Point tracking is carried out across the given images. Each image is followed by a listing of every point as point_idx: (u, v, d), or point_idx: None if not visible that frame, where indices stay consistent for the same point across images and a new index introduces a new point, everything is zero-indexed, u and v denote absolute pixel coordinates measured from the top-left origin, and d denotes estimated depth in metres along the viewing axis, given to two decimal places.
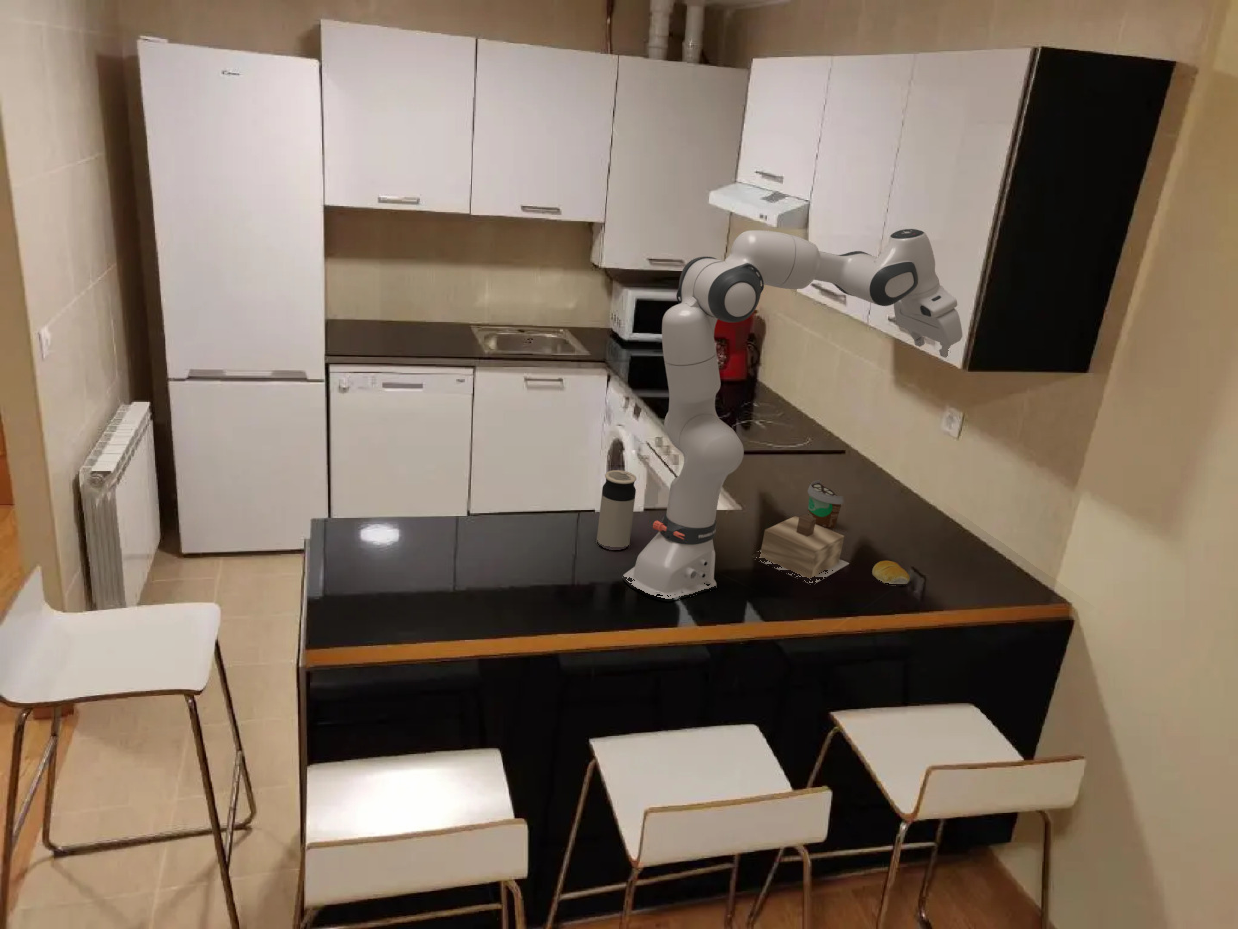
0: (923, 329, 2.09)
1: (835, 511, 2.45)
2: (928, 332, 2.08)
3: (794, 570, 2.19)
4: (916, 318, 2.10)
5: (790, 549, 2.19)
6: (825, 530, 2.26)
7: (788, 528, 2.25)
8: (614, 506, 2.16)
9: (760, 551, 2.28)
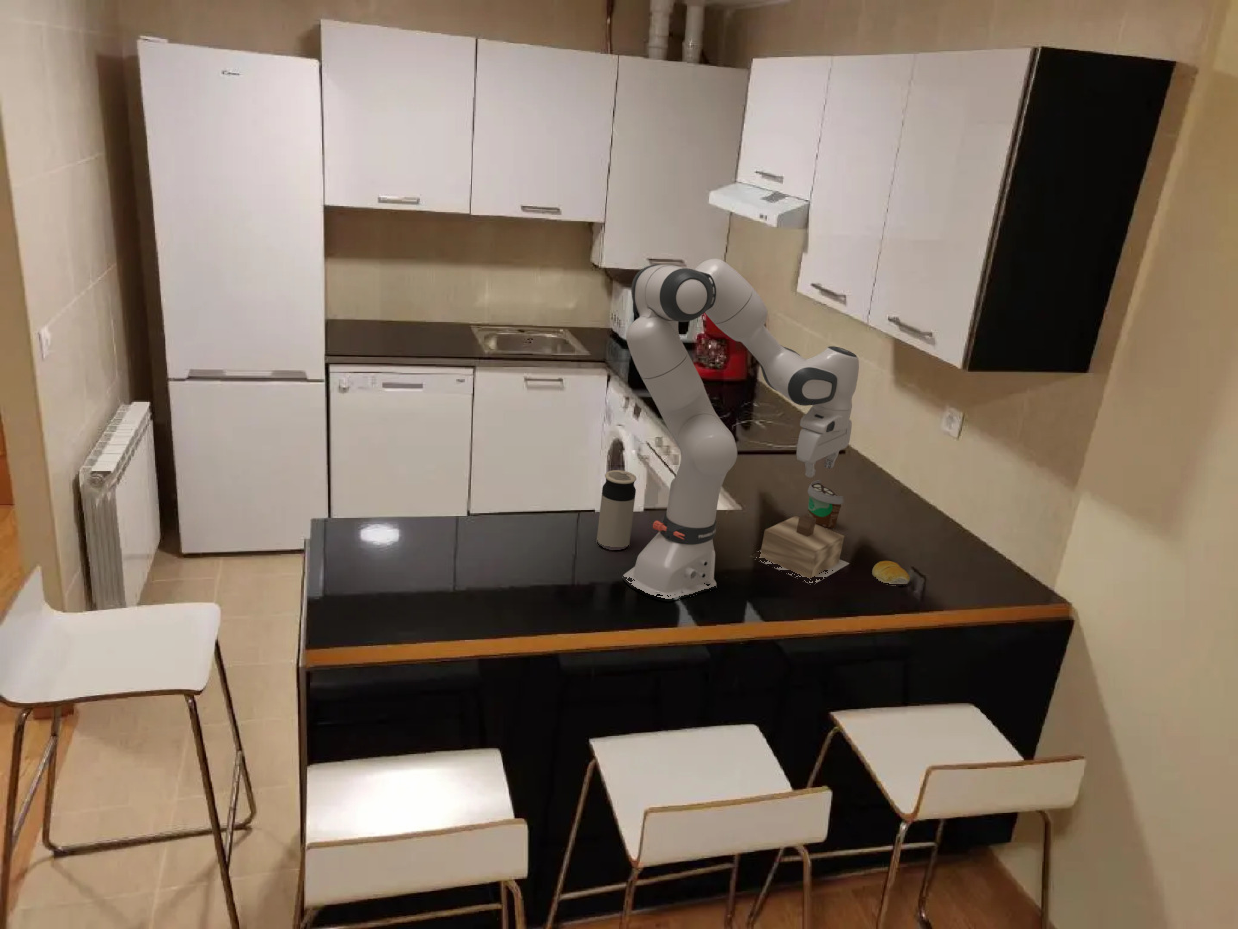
0: None
1: (835, 511, 2.45)
2: None
3: (794, 570, 2.19)
4: None
5: (790, 549, 2.19)
6: (825, 530, 2.26)
7: (788, 528, 2.25)
8: (614, 506, 2.16)
9: (760, 551, 2.28)
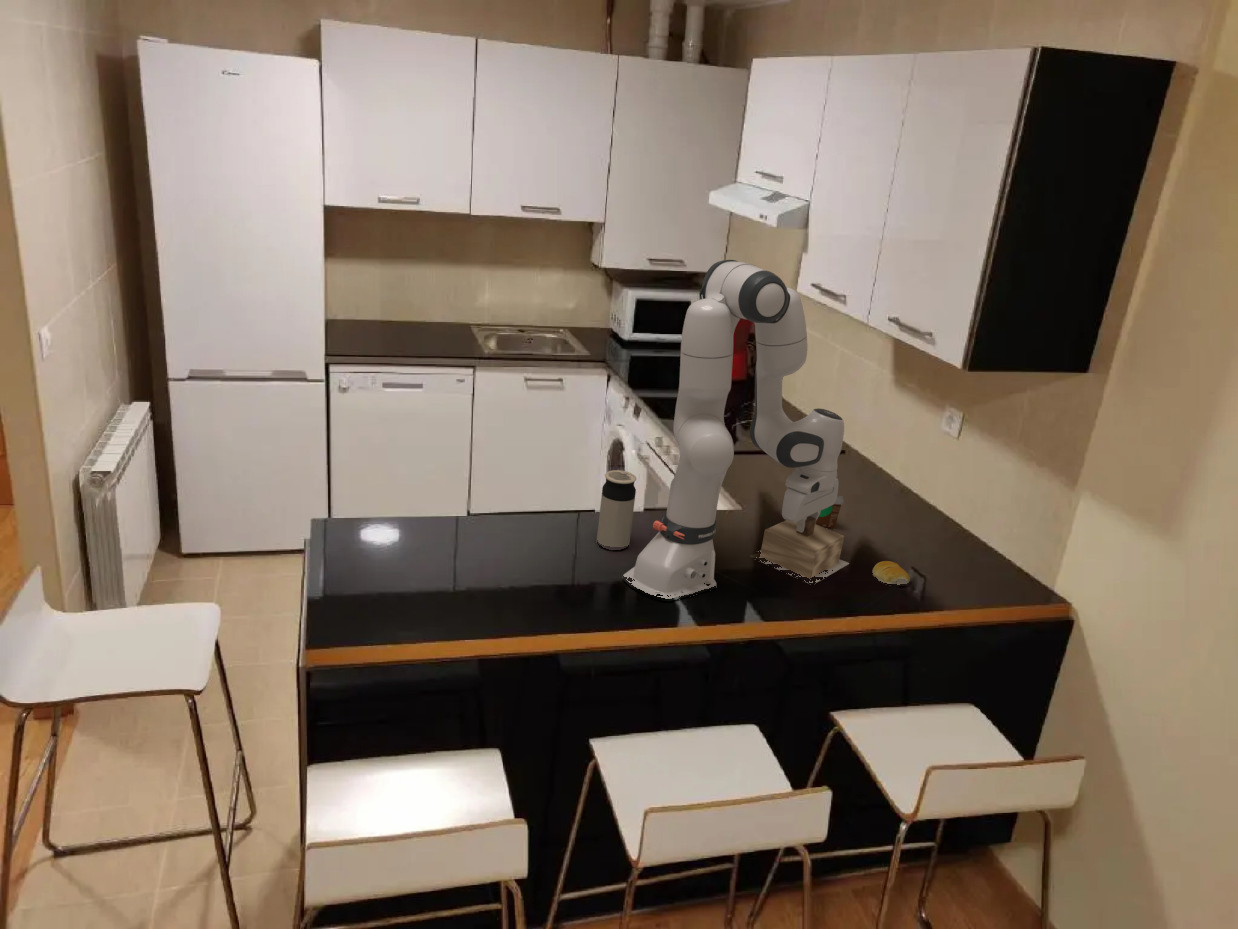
0: None
1: (835, 511, 2.45)
2: None
3: (794, 570, 2.19)
4: None
5: (790, 549, 2.19)
6: (825, 530, 2.26)
7: (788, 528, 2.25)
8: (614, 506, 2.16)
9: (760, 551, 2.28)
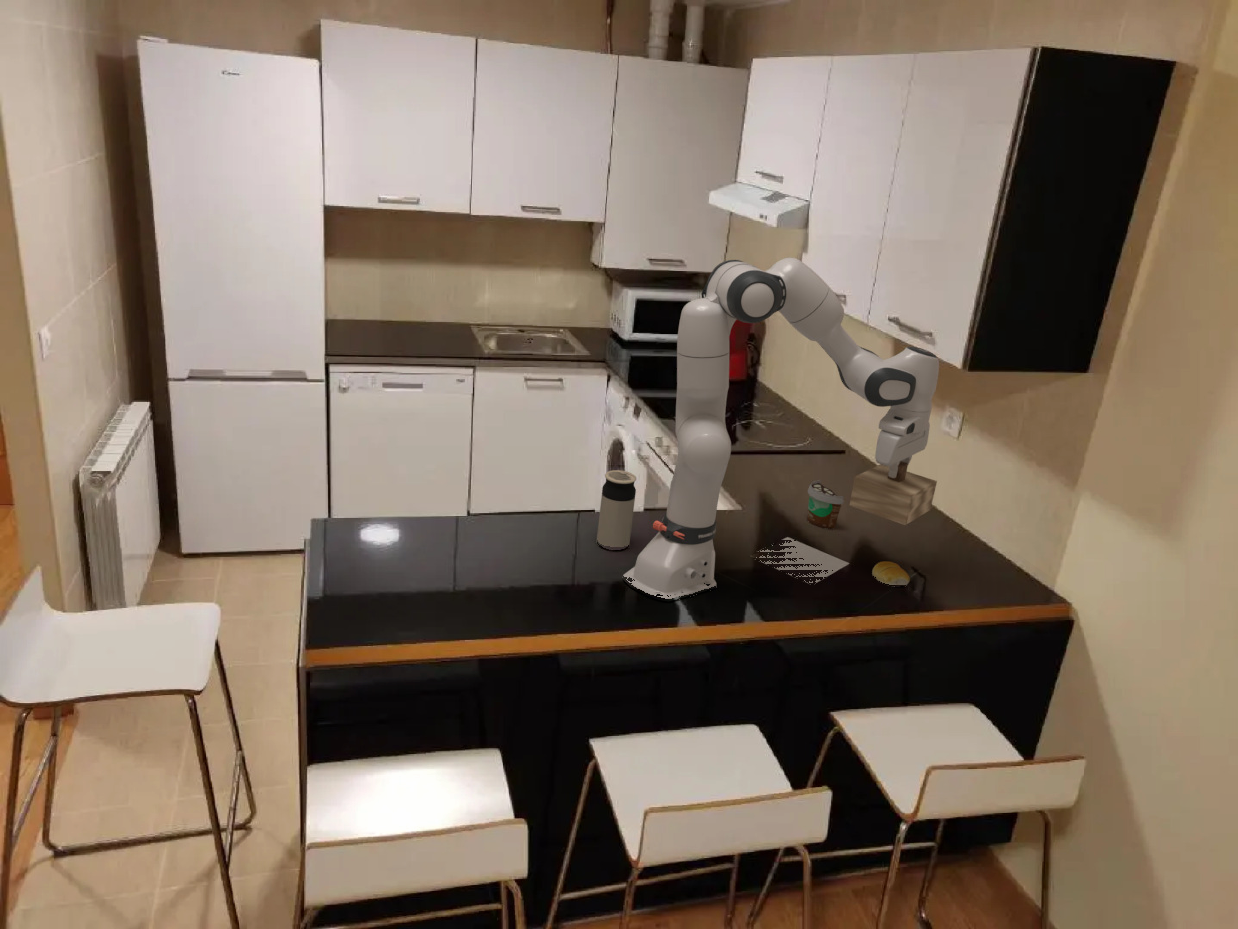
0: None
1: (835, 511, 2.45)
2: None
3: (887, 517, 2.11)
4: None
5: (883, 495, 2.10)
6: (916, 476, 2.18)
7: (878, 474, 2.16)
8: (614, 506, 2.16)
9: (760, 551, 2.28)
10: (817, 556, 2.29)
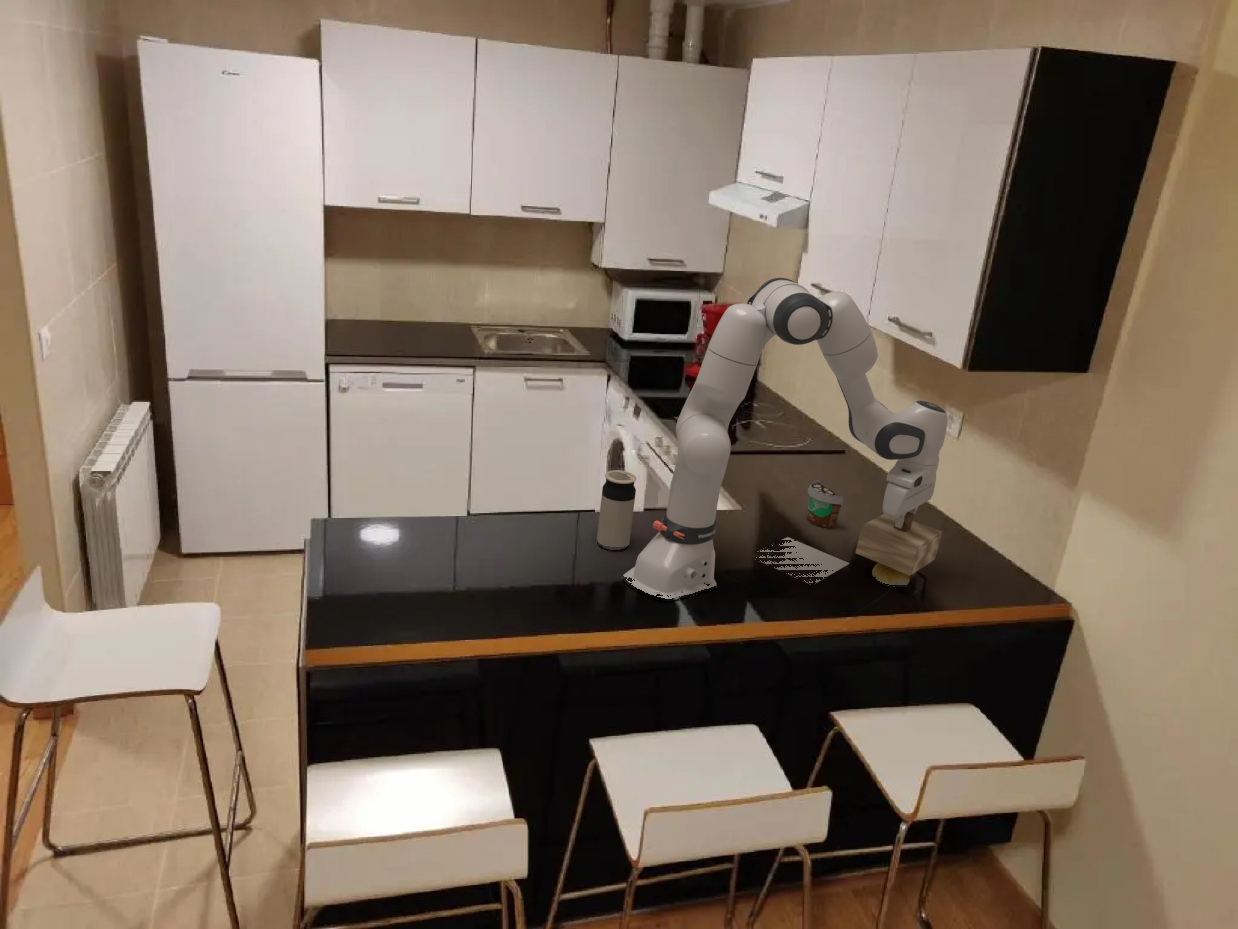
0: None
1: (835, 511, 2.45)
2: None
3: (893, 566, 2.14)
4: None
5: (889, 545, 2.13)
6: (922, 526, 2.21)
7: (885, 523, 2.20)
8: (614, 506, 2.16)
9: (760, 551, 2.28)
10: (817, 556, 2.29)
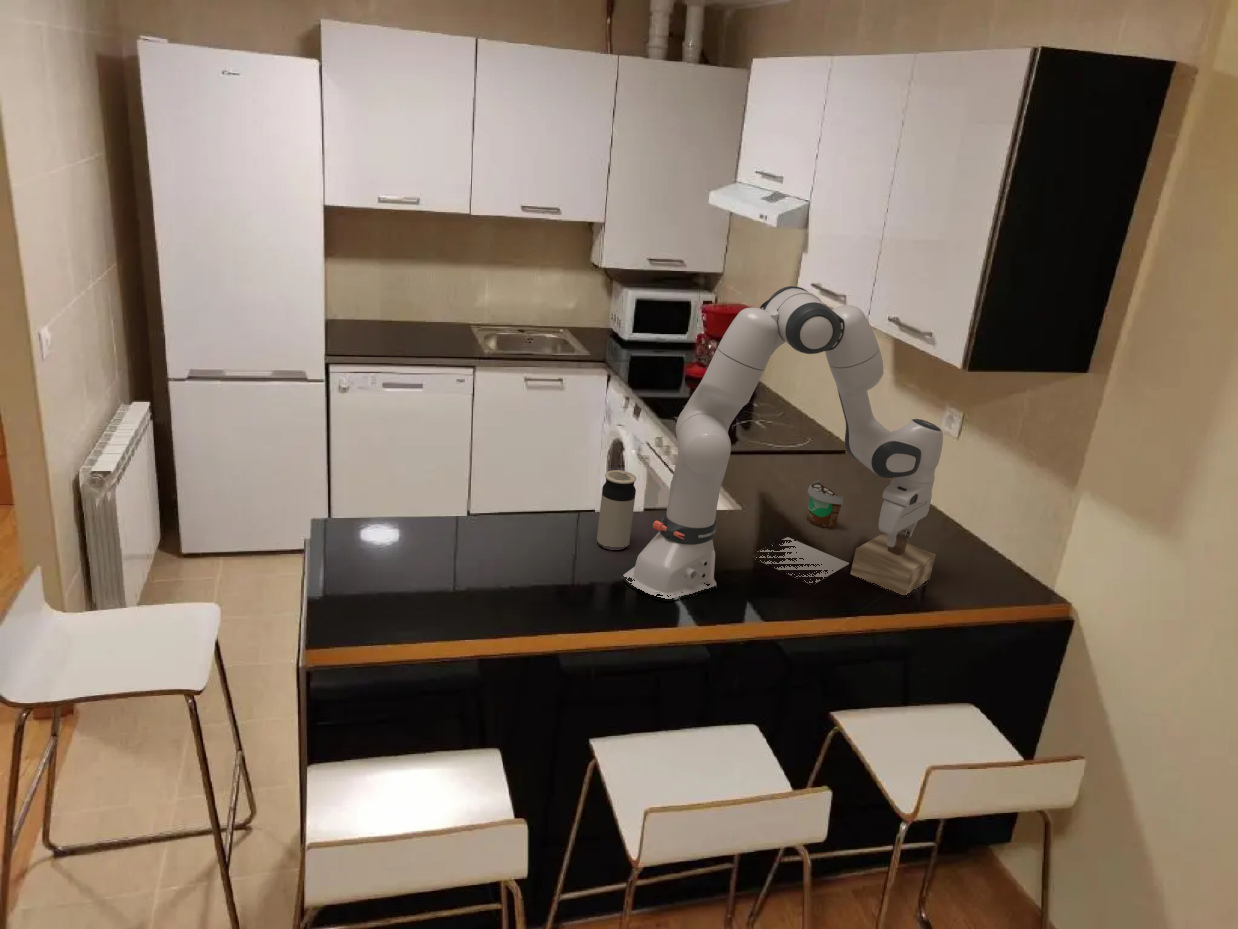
0: None
1: (835, 511, 2.45)
2: None
3: None
4: None
5: (883, 568, 2.16)
6: (915, 548, 2.23)
7: (879, 546, 2.22)
8: (614, 506, 2.16)
9: (760, 551, 2.28)
10: (817, 556, 2.29)
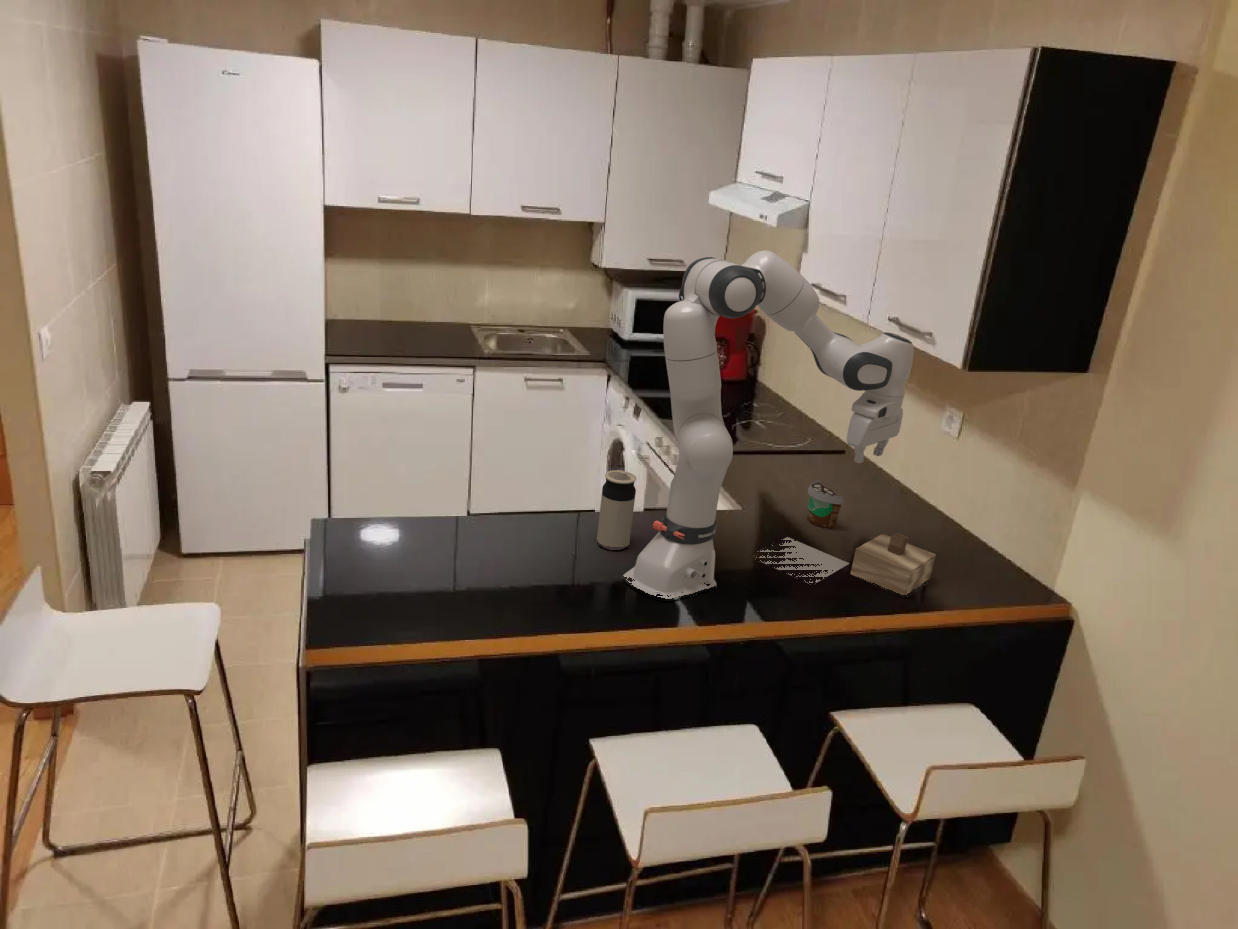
0: None
1: (835, 511, 2.45)
2: None
3: None
4: None
5: (883, 568, 2.16)
6: (915, 548, 2.23)
7: (879, 546, 2.22)
8: (614, 506, 2.16)
9: (760, 551, 2.28)
10: (817, 556, 2.29)
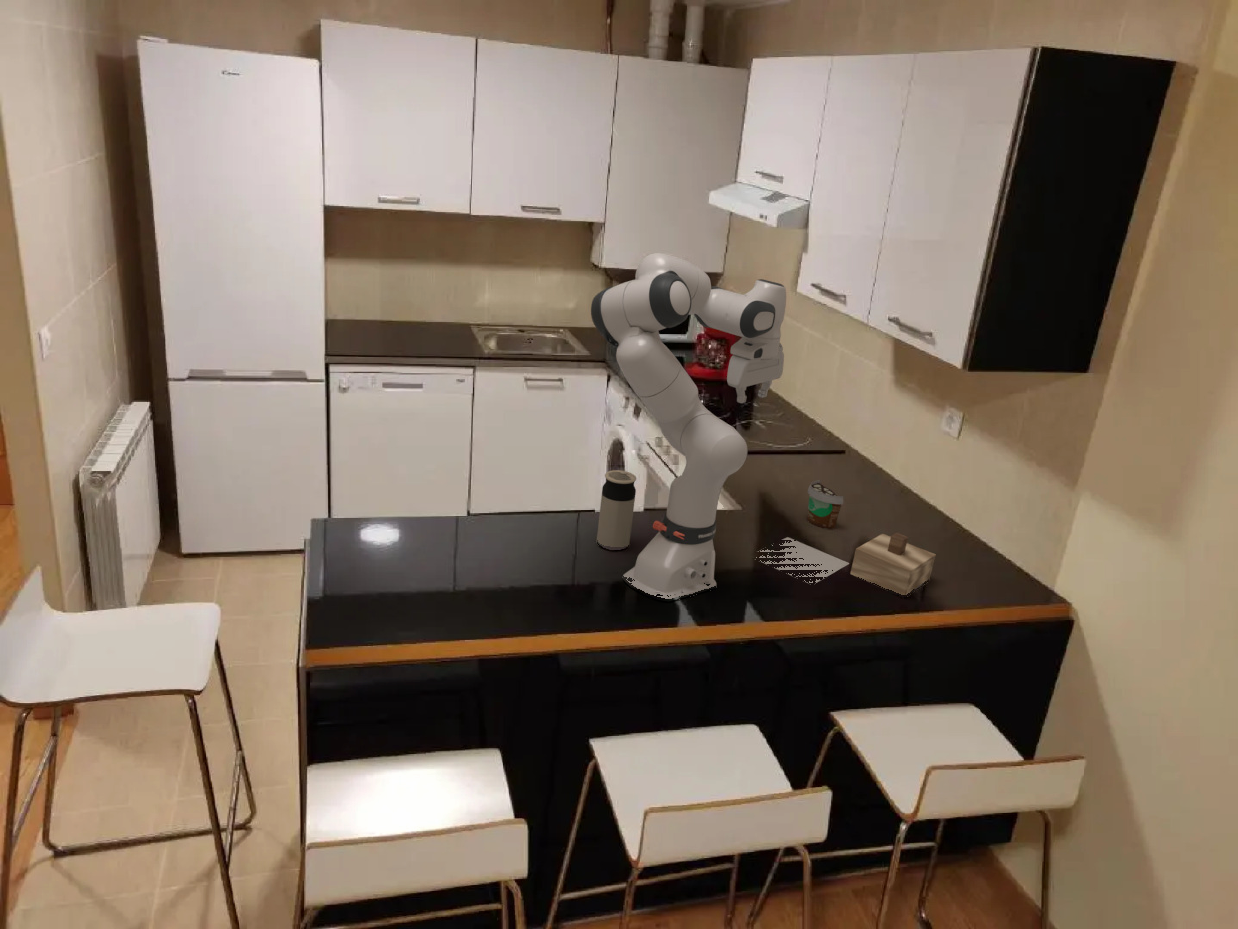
0: None
1: (835, 511, 2.45)
2: None
3: None
4: None
5: (883, 568, 2.16)
6: (915, 548, 2.23)
7: (879, 546, 2.22)
8: (614, 506, 2.16)
9: (760, 551, 2.28)
10: (817, 556, 2.29)
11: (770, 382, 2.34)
